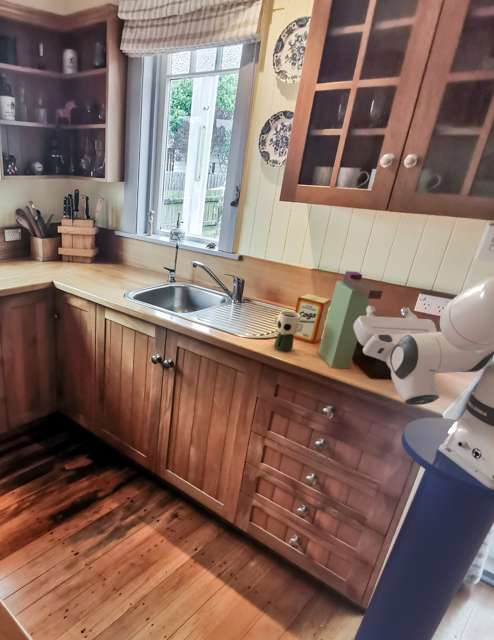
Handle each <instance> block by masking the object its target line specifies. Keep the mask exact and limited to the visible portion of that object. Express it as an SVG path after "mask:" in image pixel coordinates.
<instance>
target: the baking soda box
mask: <svg viewBox="0 0 494 640" xmlns="http://www.w3.org/2000/svg"><path fill="white" fill-rule="evenodd" d="M331 302H332V299H330V298H326V297H321V296H318V295H314V294H309V293H304V294H302V295H300V296H298V297H297V302H296V306H295V311H294V312H295V313H298V314H300V315H301V318H300V323H302V324H303V328H302V331H301V332H298V331H297V333H295V334H293V339H295V340H300V341H303V342H306V343H310V344H313V345H315V344H316V343H319V342H320V341H322V337H323V333H324V329H325V328H324V325H325V321H326V317H327V313H328V309H329V307H330V305H331ZM299 328H300V325H299V327H298V329H299Z"/></svg>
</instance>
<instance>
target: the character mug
mask: <svg viewBox="0 0 494 640" xmlns="http://www.w3.org/2000/svg"><path fill="white" fill-rule="evenodd" d="M300 318H301V315H300V314H298V313H295V311H291V310H282V311H280V312H279V313H278V314H276V315H275V316H274V319H273V323H274V324H275V325H276V330H277V332H278V333H277V335H276V338H275V340H274V344H273V347H274V348H275V349H276V350H277V349H278V348H279V351H282V352H283V351H284V352H288V351H291V350H293V348H294V347H293V346H294V338H293V334H295V333H297V331H298V332H301V331H302V328H303V324H302V323H300ZM299 325H300V328H299V329H298V327H299Z"/></svg>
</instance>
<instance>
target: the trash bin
mask: <svg viewBox="0 0 494 640" xmlns="http://www.w3.org/2000/svg"><path fill="white" fill-rule="evenodd" d="M363 348H364V346H363V345H361V344H360V343H359V341H358V340H357V344H356V347H355V350H354V354H353V357H352V361H351V362H353V363H354V364H355V365H356V366H357V367H358V368H359V369H360V370H361V371H362V372H363V373H364V374H365V375H366V376H367V377H368V378H369V379H370V380H371V379H373V380H392V377H391V369H390V368H389V367H388V365H387V363H386V362H385V361H382V360H380V359H377V358H374V357H371V356H368V355H365V354H364V353H363ZM392 381H393V380H392Z"/></svg>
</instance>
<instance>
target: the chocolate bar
mask: <svg viewBox="0 0 494 640" xmlns="http://www.w3.org/2000/svg"><path fill="white" fill-rule="evenodd" d="M362 277H363V274H362V273H360V272H359V271H349V270H348V271H347V270H345V273H344V277H343V280H342V281H343V282H344V283H345V284H347V285H348V286H350V287H351V288H353V289H354V290H356V291H357V292H359V293H360V294H362V295H364V296H365V297H367V298H369V300H381V298H382V295H383V290H381V289H380V288H378V287H376V286H374V285H373V284H371V283H369V282H368V281H366V280H364V279H363V278H362Z"/></svg>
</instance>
